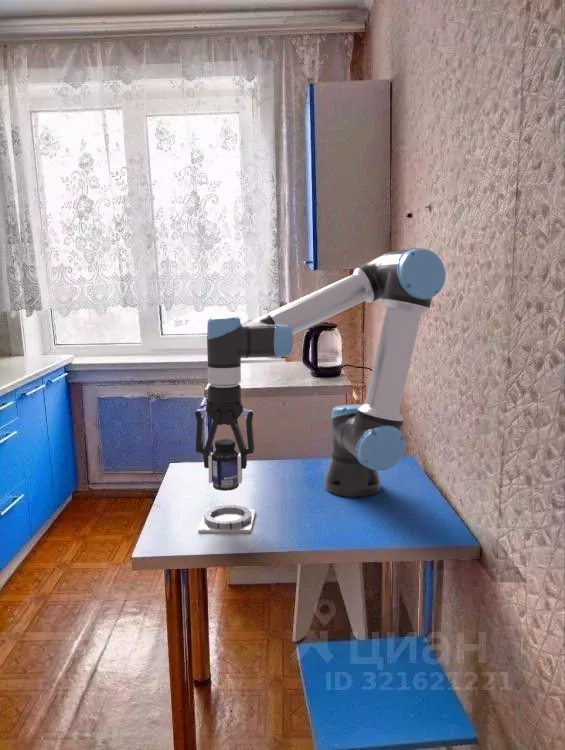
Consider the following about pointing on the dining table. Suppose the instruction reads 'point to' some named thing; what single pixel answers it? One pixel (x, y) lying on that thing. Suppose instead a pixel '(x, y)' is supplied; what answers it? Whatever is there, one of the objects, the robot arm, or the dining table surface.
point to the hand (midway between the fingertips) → (225, 481)
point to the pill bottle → (225, 465)
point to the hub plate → (227, 520)
